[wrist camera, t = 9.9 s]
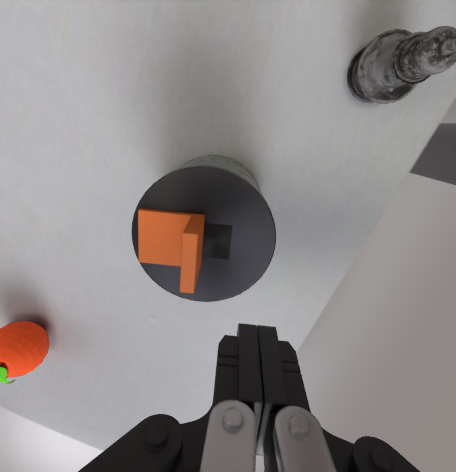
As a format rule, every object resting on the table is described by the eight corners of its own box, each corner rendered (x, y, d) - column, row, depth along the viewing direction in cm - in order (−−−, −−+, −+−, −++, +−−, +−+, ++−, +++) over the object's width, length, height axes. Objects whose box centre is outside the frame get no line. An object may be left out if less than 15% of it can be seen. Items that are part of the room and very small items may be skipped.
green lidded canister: (269, 158, 33) (287, 175, 22) (255, 252, 37) (264, 308, 26) (166, 147, 33) (129, 158, 21) (163, 243, 37) (132, 295, 26)
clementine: (60, 359, 44) (29, 401, 37) (13, 351, 44) (-27, 392, 37) (59, 315, 41) (25, 352, 34) (8, 306, 41) (-36, 342, 34)
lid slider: (204, 214, 23) (198, 234, 19) (201, 265, 24) (194, 293, 20) (140, 207, 23) (119, 226, 19) (140, 259, 24) (121, 286, 20)
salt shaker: (367, 28, 28) (453, -36, 17) (416, 59, 29) (529, 17, 18) (332, 88, 30) (390, 67, 19) (379, 116, 31) (461, 111, 20)
